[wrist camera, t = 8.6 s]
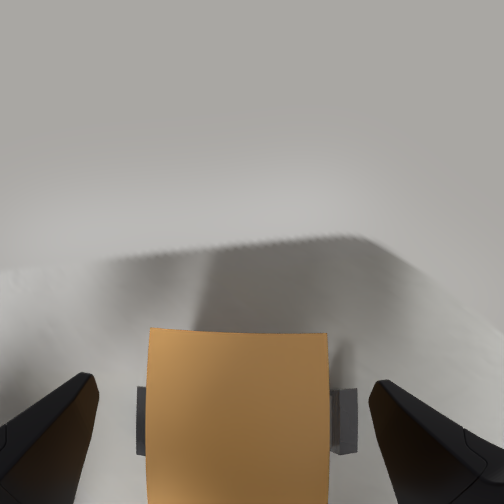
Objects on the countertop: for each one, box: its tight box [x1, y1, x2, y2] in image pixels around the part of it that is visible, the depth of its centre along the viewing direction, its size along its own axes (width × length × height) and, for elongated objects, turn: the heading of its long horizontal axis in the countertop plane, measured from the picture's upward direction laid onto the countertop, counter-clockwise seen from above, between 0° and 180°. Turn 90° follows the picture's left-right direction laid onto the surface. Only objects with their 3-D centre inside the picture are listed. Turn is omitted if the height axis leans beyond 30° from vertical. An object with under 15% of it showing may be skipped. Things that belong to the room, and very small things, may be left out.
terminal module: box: [145, 328, 330, 504], centre depth 11 cm, size 7×5×9 cm
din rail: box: [136, 386, 358, 456], centre depth 14 cm, size 4×11×2 cm, turn 89°
